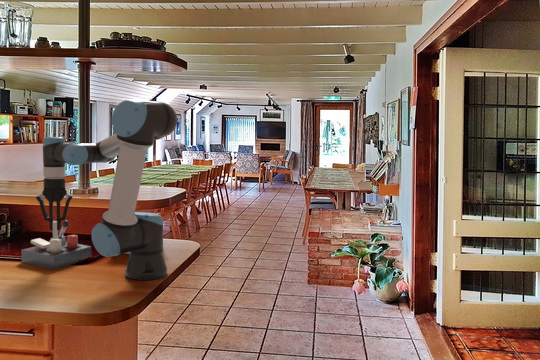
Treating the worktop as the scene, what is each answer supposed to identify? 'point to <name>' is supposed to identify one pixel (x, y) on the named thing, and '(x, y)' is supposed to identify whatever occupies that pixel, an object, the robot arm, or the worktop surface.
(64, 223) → the lever
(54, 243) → the button ivory
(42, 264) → the console
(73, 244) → the button red
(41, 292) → the worktop surface
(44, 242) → the rocker
